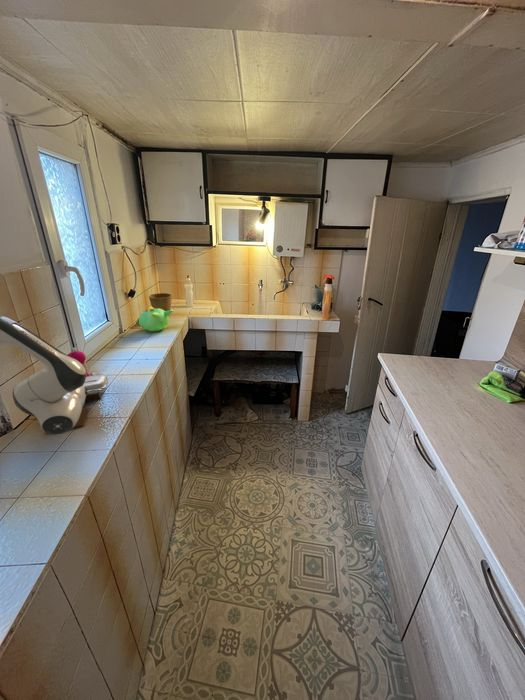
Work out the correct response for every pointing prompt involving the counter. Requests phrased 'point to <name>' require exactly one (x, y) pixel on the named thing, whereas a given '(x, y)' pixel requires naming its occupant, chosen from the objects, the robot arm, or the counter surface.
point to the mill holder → (93, 396)
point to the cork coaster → (81, 418)
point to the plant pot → (161, 301)
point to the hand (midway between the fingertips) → (78, 376)
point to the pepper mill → (79, 357)
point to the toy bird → (154, 319)
